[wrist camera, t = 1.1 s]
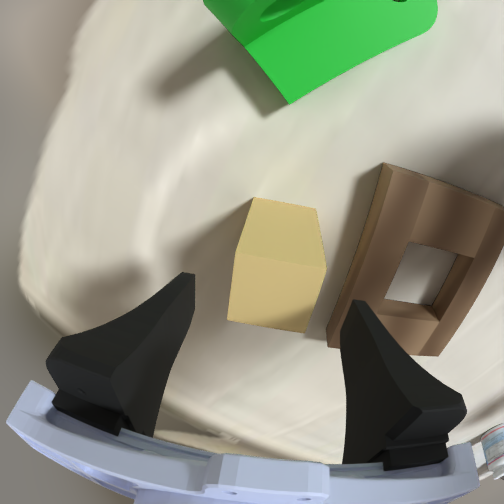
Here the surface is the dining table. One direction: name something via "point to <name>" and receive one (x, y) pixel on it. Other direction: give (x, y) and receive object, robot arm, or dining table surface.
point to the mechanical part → (319, 35)
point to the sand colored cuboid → (277, 267)
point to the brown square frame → (425, 233)
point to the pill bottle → (494, 450)
